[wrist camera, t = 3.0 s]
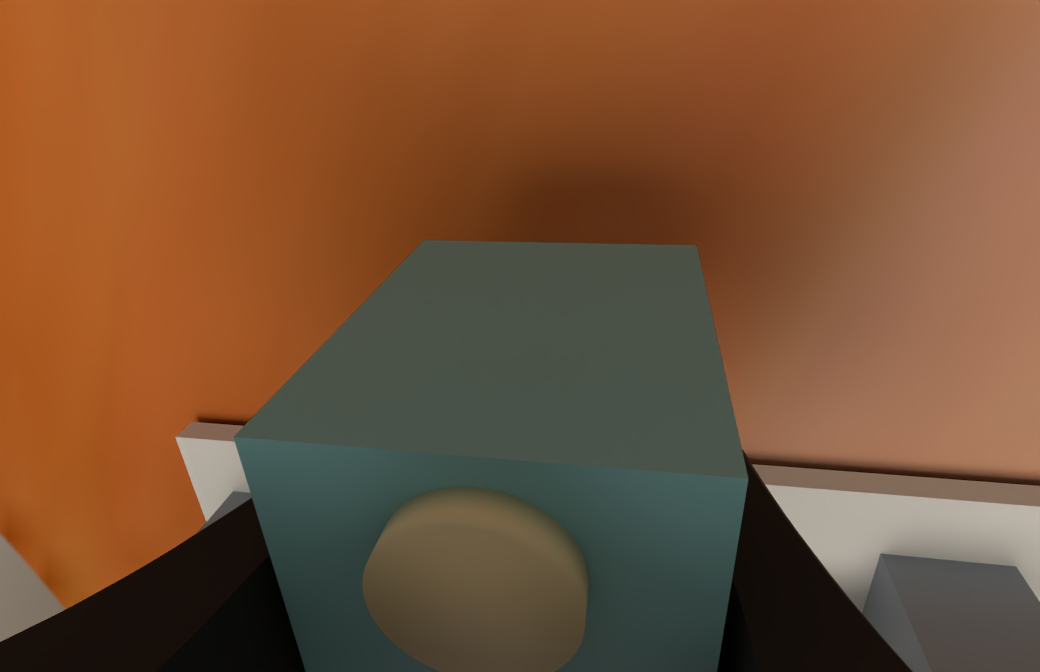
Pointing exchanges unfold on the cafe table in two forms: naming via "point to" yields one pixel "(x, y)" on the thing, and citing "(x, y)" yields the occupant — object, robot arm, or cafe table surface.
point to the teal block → (508, 467)
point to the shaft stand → (850, 551)
